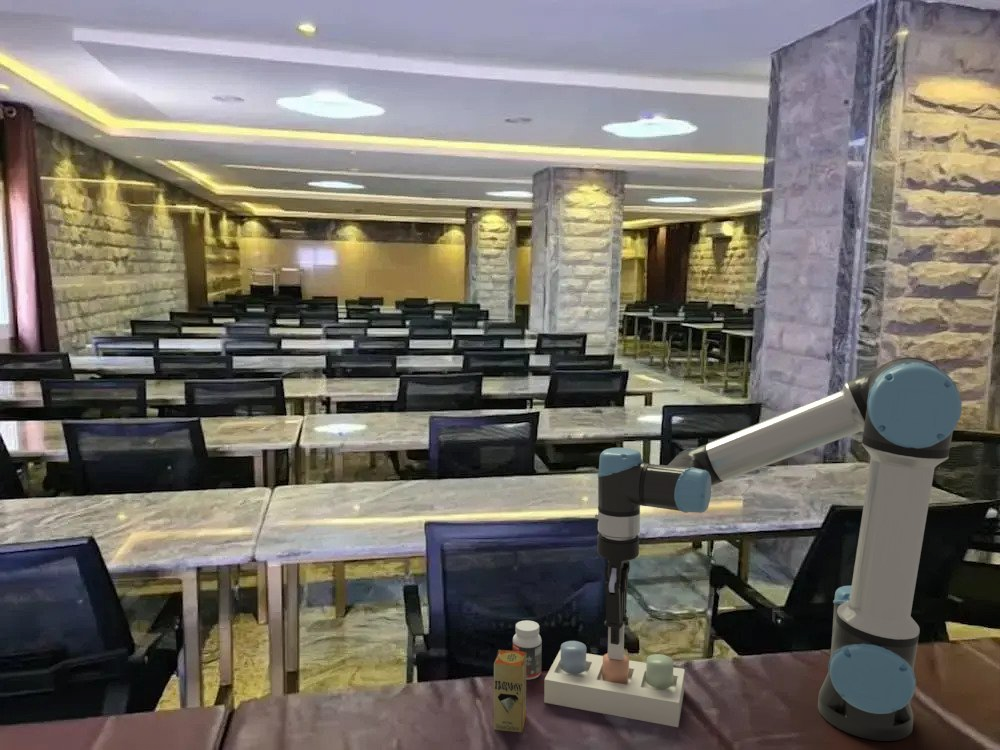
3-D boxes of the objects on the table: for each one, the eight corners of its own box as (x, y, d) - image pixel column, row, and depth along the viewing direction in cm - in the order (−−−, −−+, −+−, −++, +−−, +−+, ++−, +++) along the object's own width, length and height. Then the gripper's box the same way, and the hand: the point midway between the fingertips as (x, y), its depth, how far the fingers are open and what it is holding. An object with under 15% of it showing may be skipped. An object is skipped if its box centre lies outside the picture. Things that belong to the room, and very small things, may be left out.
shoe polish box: (498, 713, 131) (498, 649, 130) (526, 716, 131) (526, 651, 129) (493, 729, 127) (493, 663, 125) (522, 732, 126) (522, 666, 124)
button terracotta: (630, 674, 138) (630, 654, 137) (626, 687, 133) (626, 667, 133) (604, 670, 139) (605, 650, 139) (600, 683, 135) (600, 662, 134)
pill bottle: (507, 676, 144) (507, 628, 143) (520, 663, 149) (520, 616, 148) (533, 683, 141) (534, 634, 140) (546, 670, 146) (546, 622, 145)
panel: (684, 691, 139) (684, 669, 138) (678, 727, 127) (678, 702, 127) (560, 670, 146) (560, 649, 146) (544, 702, 135) (544, 679, 134)
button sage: (674, 677, 135) (674, 656, 135) (671, 690, 131) (672, 669, 130) (647, 672, 137) (648, 652, 136) (644, 685, 132) (644, 664, 132)
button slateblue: (588, 663, 140) (588, 643, 140) (583, 675, 136) (583, 654, 135) (563, 659, 142) (564, 639, 141) (557, 671, 137) (558, 650, 137)
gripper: (604, 521, 140) (602, 638, 143) (590, 543, 128) (588, 671, 131) (644, 525, 138) (641, 644, 141) (633, 548, 126) (630, 678, 128)
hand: (615, 657), depth 136 cm, fingers closed
